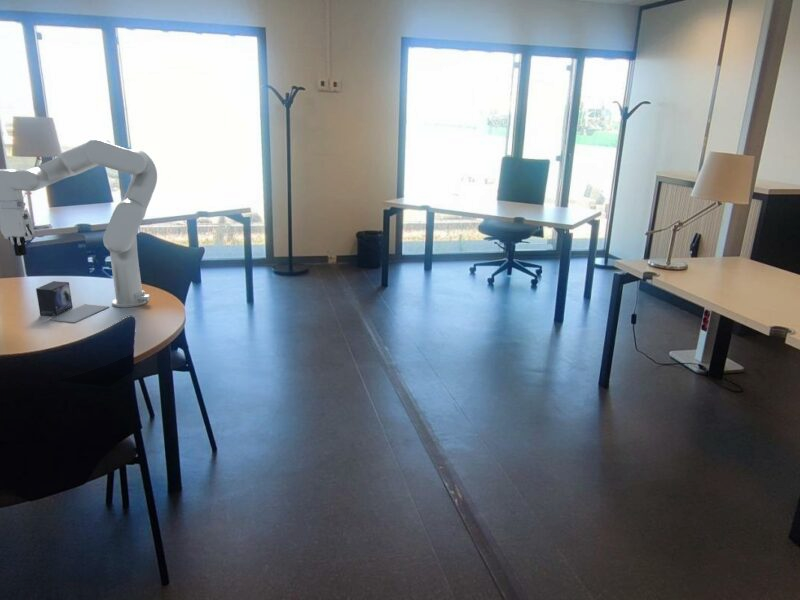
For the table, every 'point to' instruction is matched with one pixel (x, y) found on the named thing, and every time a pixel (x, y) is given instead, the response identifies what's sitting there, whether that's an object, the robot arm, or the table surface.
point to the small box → (54, 298)
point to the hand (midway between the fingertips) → (21, 254)
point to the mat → (79, 313)
